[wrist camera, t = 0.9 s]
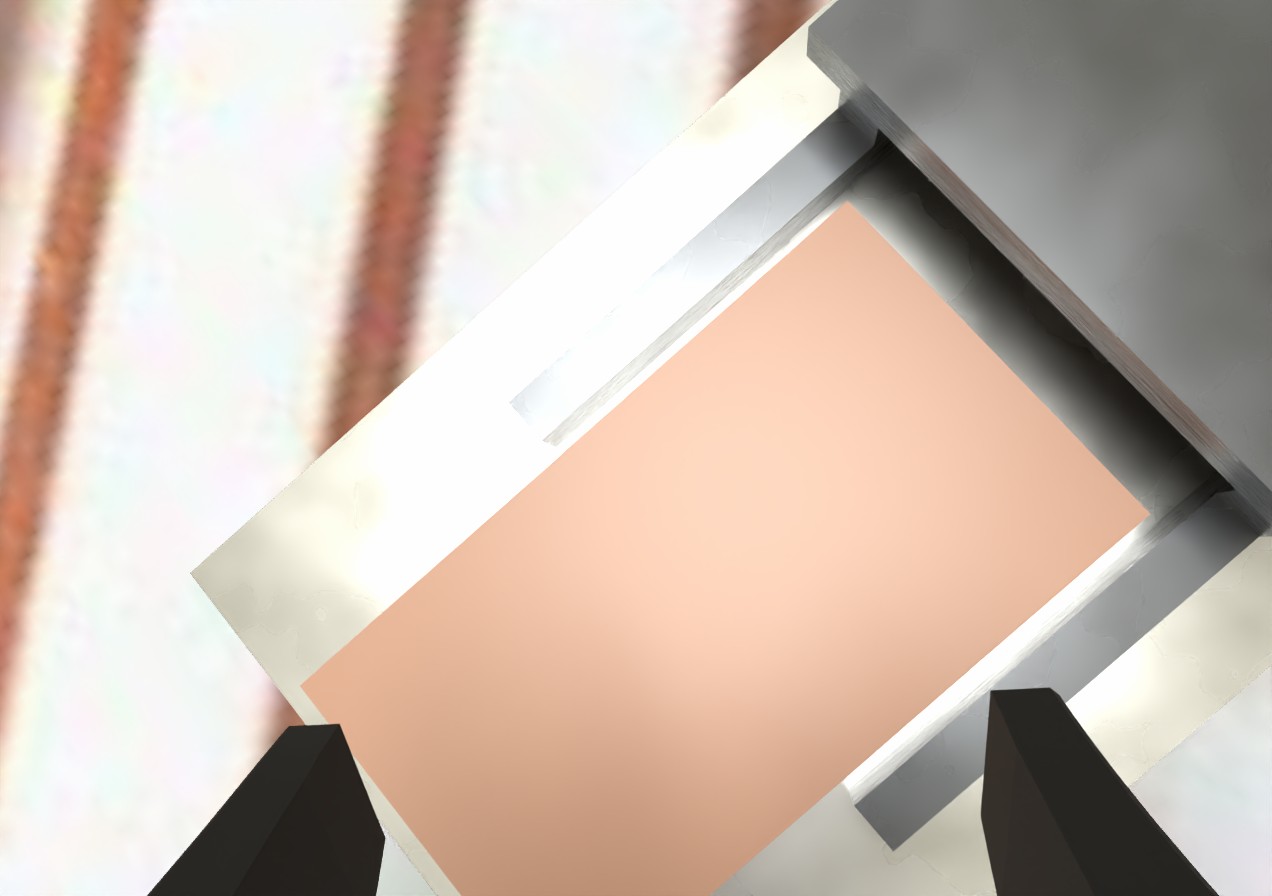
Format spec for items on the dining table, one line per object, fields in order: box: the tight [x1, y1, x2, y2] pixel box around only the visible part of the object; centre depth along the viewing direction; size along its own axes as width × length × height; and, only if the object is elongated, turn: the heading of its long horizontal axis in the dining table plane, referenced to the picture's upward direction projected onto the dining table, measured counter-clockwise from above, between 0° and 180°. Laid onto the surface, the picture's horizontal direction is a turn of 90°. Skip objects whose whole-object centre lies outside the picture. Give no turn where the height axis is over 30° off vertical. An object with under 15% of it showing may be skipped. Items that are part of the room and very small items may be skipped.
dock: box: [190, 0, 1272, 896], centre depth 22 cm, size 28×18×6 cm, turn 131°
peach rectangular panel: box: [300, 201, 1150, 896], centre depth 23 cm, size 16×9×2 cm, turn 131°
